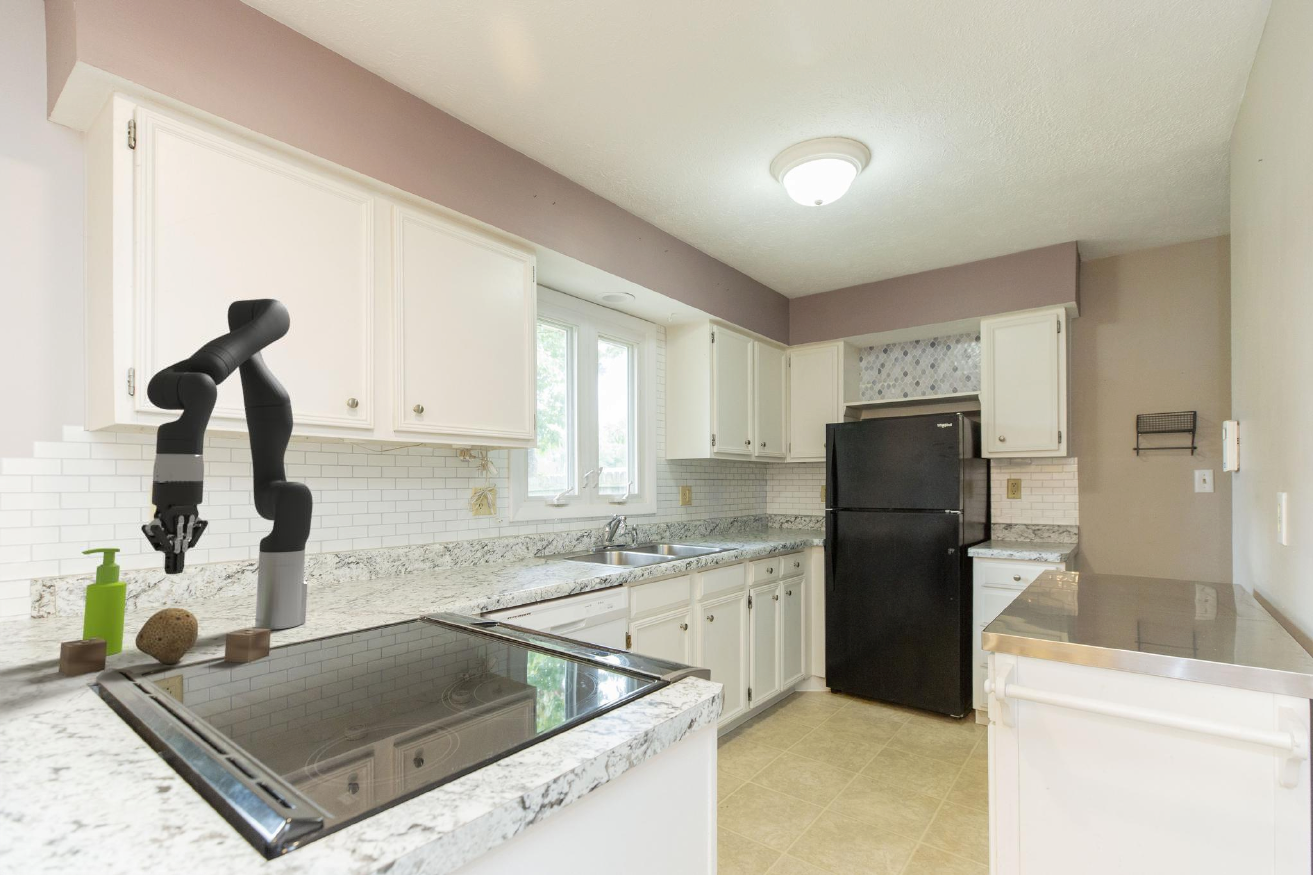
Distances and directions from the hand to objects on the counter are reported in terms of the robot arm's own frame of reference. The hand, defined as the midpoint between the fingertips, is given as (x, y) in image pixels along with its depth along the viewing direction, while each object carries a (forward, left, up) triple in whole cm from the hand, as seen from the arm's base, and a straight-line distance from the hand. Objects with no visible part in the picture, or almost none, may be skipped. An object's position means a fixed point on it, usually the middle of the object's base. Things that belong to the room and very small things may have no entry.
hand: (173, 573), depth 116 cm
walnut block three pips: (+9, -8, -16) cm, 20 cm away
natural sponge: (0, 0, -16) cm, 16 cm away
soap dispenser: (+2, -19, -16) cm, 25 cm away
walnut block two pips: (-9, +9, -16) cm, 20 cm away
